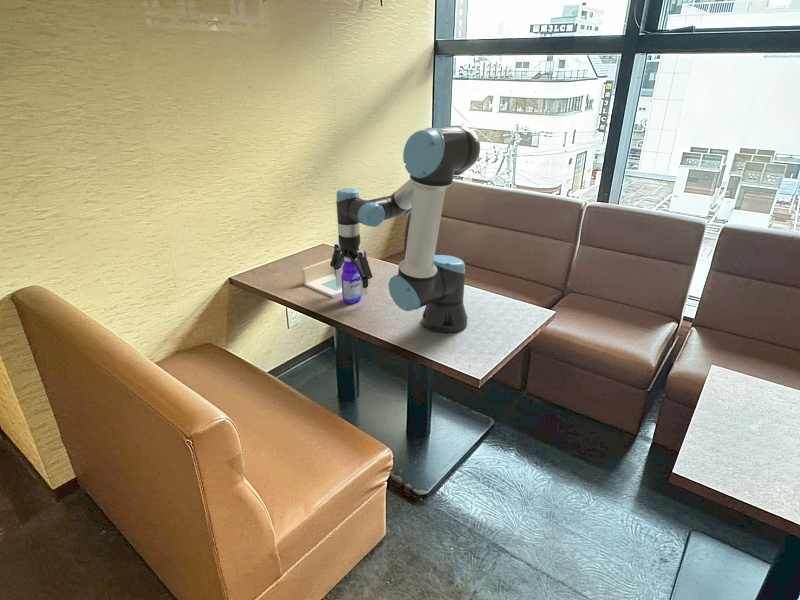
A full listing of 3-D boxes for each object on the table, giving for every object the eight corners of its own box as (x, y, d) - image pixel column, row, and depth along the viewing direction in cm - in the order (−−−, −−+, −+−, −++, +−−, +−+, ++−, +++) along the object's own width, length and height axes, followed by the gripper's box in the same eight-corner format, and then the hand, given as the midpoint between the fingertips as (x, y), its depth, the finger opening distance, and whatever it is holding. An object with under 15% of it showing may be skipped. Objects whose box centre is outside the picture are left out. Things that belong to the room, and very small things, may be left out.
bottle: (351, 306, 182) (349, 260, 174) (339, 302, 185) (337, 257, 177) (364, 299, 187) (362, 255, 180) (353, 295, 190) (351, 251, 183)
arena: (369, 282, 201) (369, 266, 198) (333, 297, 188) (332, 280, 185) (339, 271, 212) (338, 255, 209) (303, 284, 199) (301, 268, 196)
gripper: (382, 239, 170) (382, 296, 179) (334, 224, 185) (337, 278, 194) (366, 244, 165) (367, 303, 174) (318, 229, 180) (322, 284, 189)
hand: (351, 290), depth 184 cm, fingers open, 12 cm apart
